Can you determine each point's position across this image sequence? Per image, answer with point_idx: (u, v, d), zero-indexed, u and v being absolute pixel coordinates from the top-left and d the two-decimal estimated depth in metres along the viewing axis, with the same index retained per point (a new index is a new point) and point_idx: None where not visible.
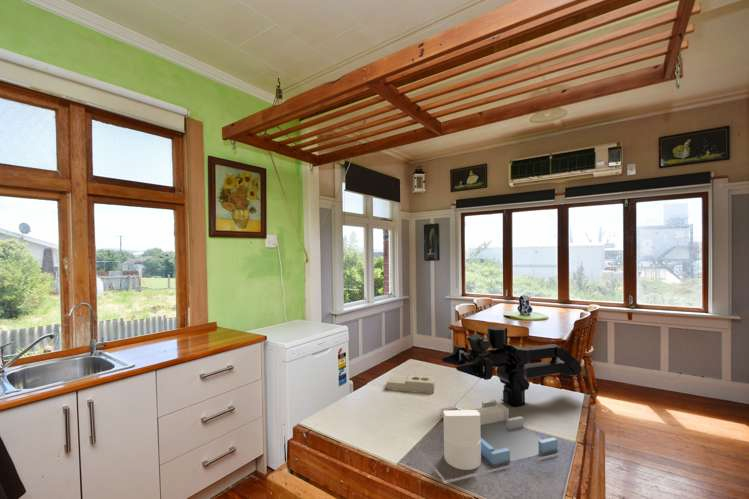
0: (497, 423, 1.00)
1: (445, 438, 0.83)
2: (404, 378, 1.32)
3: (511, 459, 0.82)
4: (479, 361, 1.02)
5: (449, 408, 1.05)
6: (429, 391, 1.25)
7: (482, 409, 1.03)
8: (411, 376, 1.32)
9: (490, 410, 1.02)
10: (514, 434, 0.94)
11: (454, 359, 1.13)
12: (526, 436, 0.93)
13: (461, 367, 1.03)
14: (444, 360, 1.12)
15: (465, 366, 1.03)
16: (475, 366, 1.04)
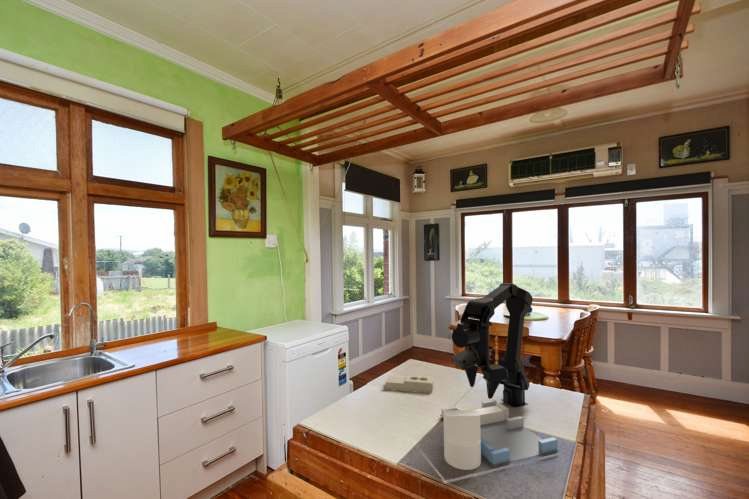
0: (497, 423, 1.00)
1: (445, 438, 0.83)
2: (403, 378, 1.33)
3: (511, 459, 0.82)
4: (488, 380, 0.94)
5: (449, 408, 1.05)
6: (428, 391, 1.25)
7: (482, 409, 1.03)
8: (410, 376, 1.32)
9: (490, 410, 1.02)
10: (514, 434, 0.94)
11: (472, 371, 1.07)
12: (526, 436, 0.93)
13: (490, 394, 0.97)
14: (472, 384, 1.06)
15: (490, 391, 0.96)
16: None
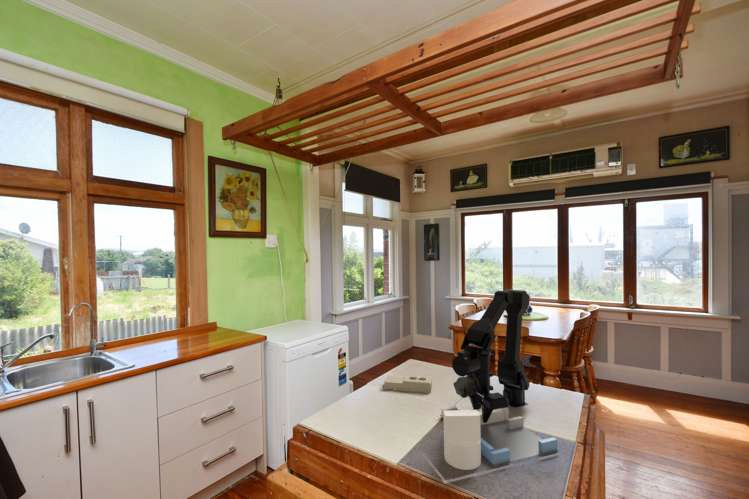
0: (497, 423, 1.00)
1: (445, 438, 0.83)
2: (401, 378, 1.33)
3: (511, 459, 0.82)
4: None
5: (449, 408, 1.05)
6: (426, 391, 1.25)
7: None
8: (408, 376, 1.32)
9: None
10: (514, 434, 0.94)
11: (477, 400, 1.04)
12: (526, 436, 0.93)
13: (485, 419, 0.99)
14: None
15: (485, 415, 0.99)
16: None
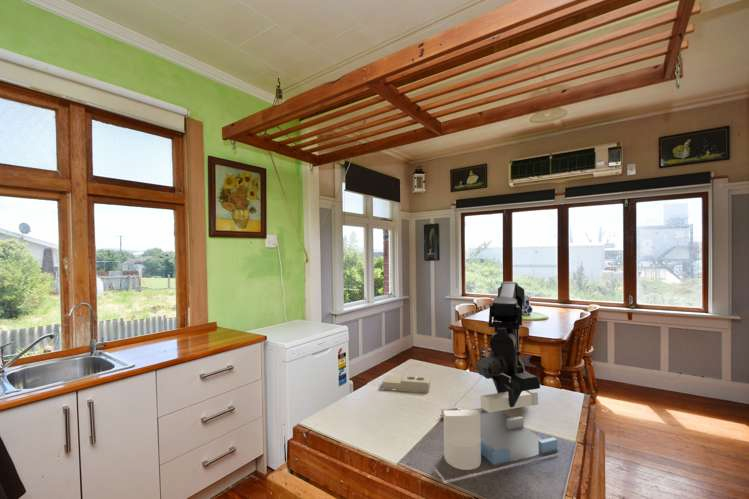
0: (497, 423, 1.00)
1: (445, 438, 0.83)
2: (399, 378, 1.33)
3: (511, 459, 0.82)
4: (511, 387, 0.85)
5: (449, 408, 1.05)
6: (424, 391, 1.25)
7: (507, 392, 0.92)
8: (406, 376, 1.32)
9: None
10: (514, 434, 0.94)
11: (502, 382, 0.93)
12: (526, 436, 0.93)
13: (512, 403, 0.88)
14: None
15: (512, 398, 0.87)
16: None
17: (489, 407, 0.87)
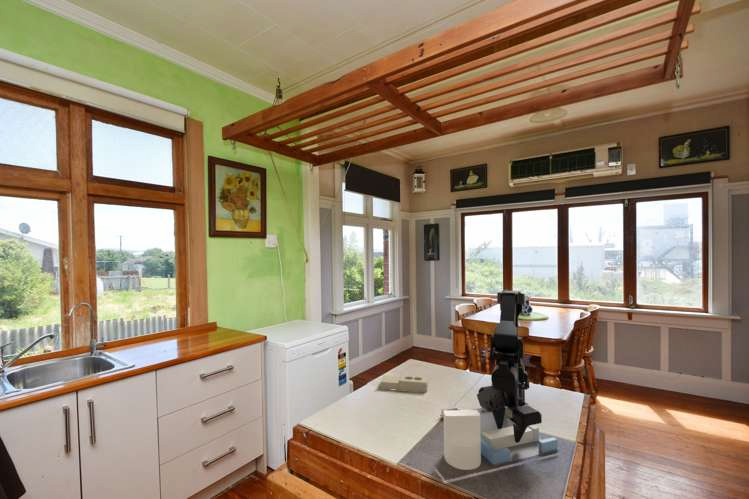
0: None
1: (445, 438, 0.83)
2: (397, 378, 1.33)
3: (511, 459, 0.82)
4: None
5: (449, 408, 1.05)
6: (422, 390, 1.25)
7: (509, 428, 0.91)
8: (404, 375, 1.33)
9: None
10: None
11: (500, 410, 0.94)
12: None
13: (517, 438, 0.86)
14: (500, 426, 0.93)
15: (517, 434, 0.86)
16: None
17: None
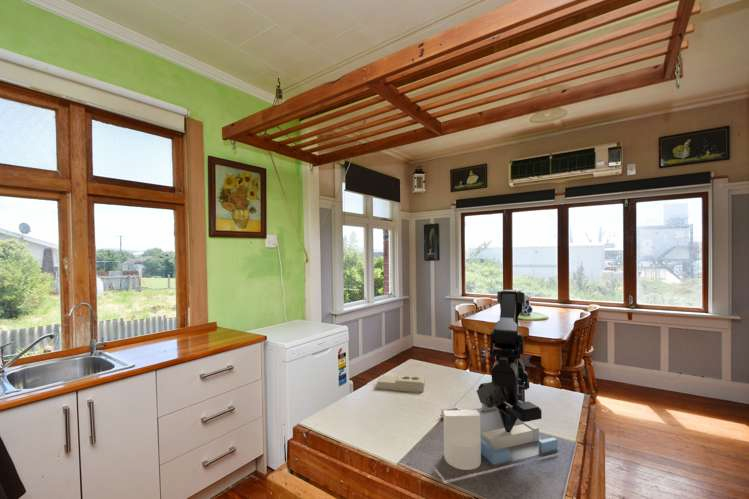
0: (497, 423, 1.00)
1: (445, 438, 0.83)
2: (395, 377, 1.33)
3: (511, 459, 0.82)
4: None
5: (449, 408, 1.05)
6: (419, 390, 1.26)
7: None
8: (401, 375, 1.33)
9: (517, 430, 0.90)
10: None
11: None
12: None
13: (508, 428, 0.89)
14: None
15: (508, 424, 0.89)
16: None
17: None
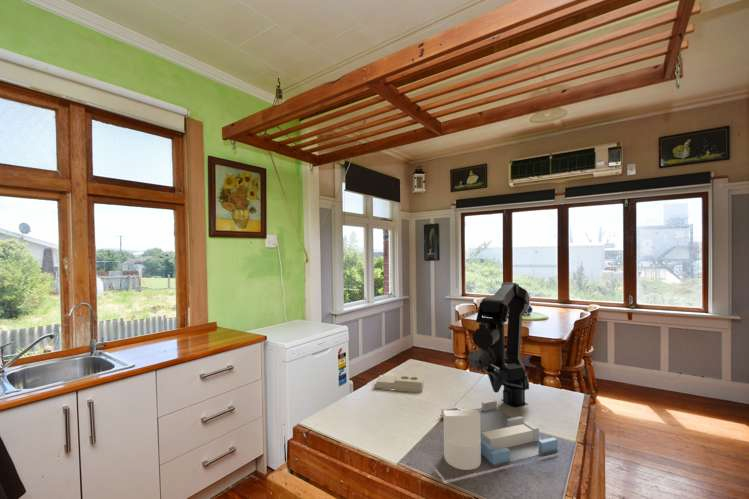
0: (497, 423, 1.00)
1: (445, 438, 0.83)
2: (393, 377, 1.33)
3: (511, 459, 0.82)
4: (495, 375, 0.96)
5: (449, 408, 1.05)
6: (418, 390, 1.26)
7: (509, 428, 0.91)
8: (400, 375, 1.33)
9: (517, 430, 0.90)
10: None
11: None
12: None
13: (496, 388, 0.99)
14: None
15: (496, 385, 0.98)
16: None
17: None
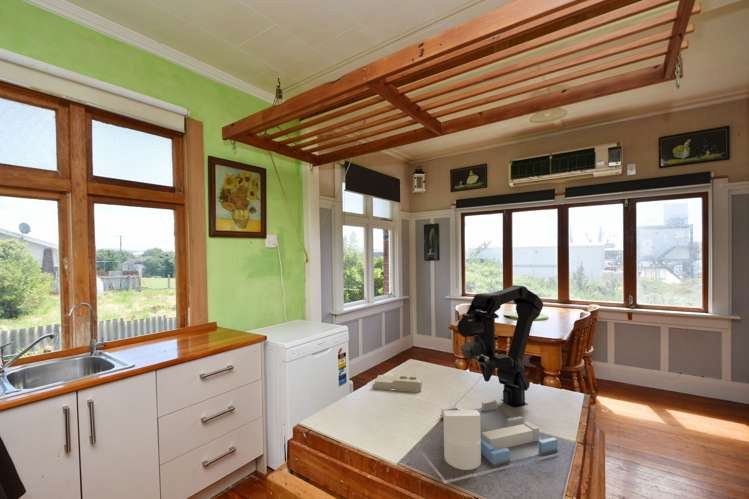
0: (497, 423, 1.00)
1: (445, 438, 0.83)
2: (392, 377, 1.33)
3: (511, 459, 0.82)
4: (485, 364, 1.04)
5: (449, 408, 1.05)
6: (416, 390, 1.26)
7: (509, 428, 0.91)
8: (399, 375, 1.33)
9: (517, 430, 0.90)
10: None
11: None
12: None
13: (487, 378, 1.06)
14: None
15: (487, 374, 1.06)
16: None
17: None
